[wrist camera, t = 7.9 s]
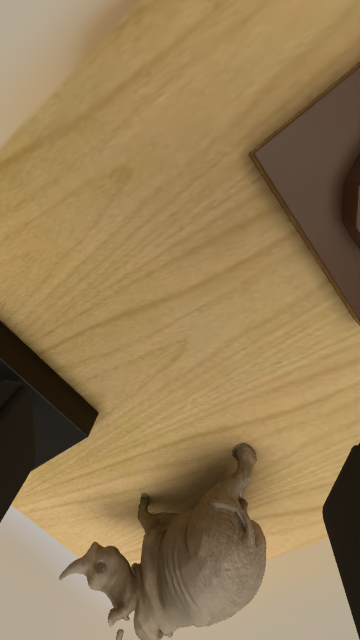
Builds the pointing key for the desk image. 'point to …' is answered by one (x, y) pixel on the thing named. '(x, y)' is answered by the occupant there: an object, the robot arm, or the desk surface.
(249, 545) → the rhinoceros figurine
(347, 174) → the button housing
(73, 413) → the dial panel
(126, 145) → the desk surface
